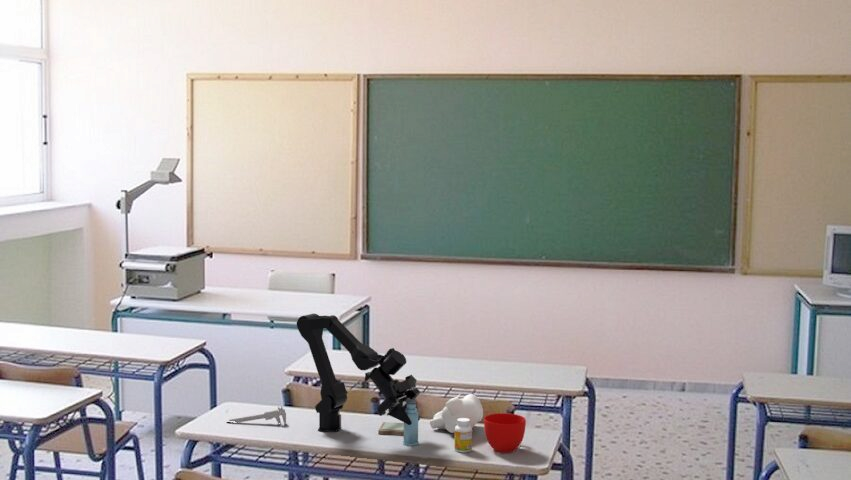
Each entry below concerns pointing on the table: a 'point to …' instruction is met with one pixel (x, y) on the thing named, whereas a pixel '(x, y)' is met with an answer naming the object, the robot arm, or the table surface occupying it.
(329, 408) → the robot arm
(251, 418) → the caliper
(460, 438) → the supplement bottle
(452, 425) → the fox head
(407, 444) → the water bottle
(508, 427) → the ceramic cup
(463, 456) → the table surface
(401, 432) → the picture frame
